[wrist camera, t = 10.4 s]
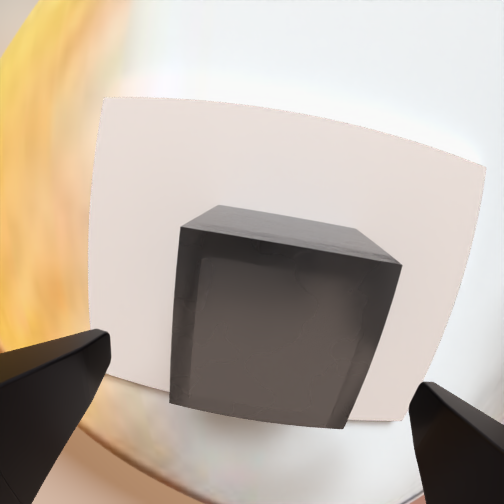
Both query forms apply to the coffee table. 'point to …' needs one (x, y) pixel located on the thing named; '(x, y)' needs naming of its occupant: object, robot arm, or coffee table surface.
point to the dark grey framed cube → (276, 316)
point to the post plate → (277, 202)
